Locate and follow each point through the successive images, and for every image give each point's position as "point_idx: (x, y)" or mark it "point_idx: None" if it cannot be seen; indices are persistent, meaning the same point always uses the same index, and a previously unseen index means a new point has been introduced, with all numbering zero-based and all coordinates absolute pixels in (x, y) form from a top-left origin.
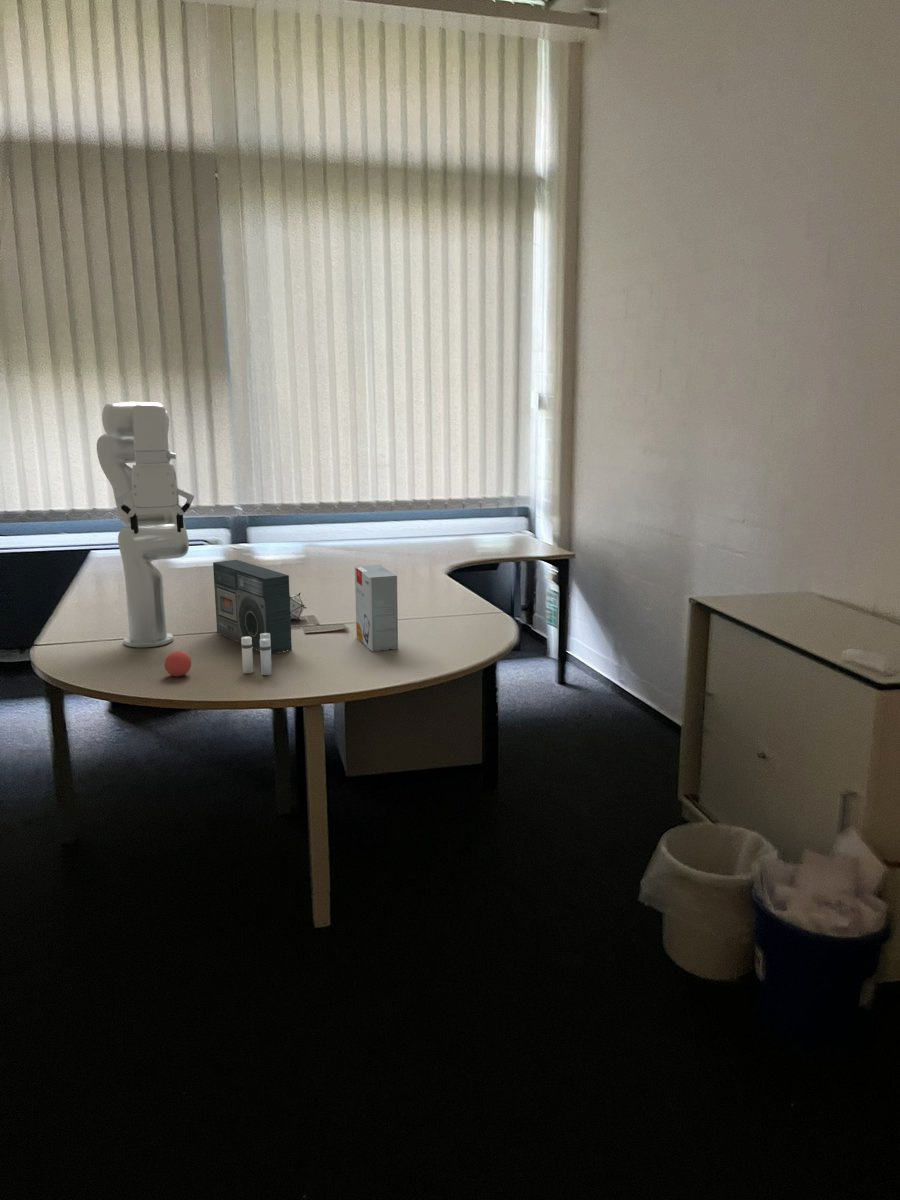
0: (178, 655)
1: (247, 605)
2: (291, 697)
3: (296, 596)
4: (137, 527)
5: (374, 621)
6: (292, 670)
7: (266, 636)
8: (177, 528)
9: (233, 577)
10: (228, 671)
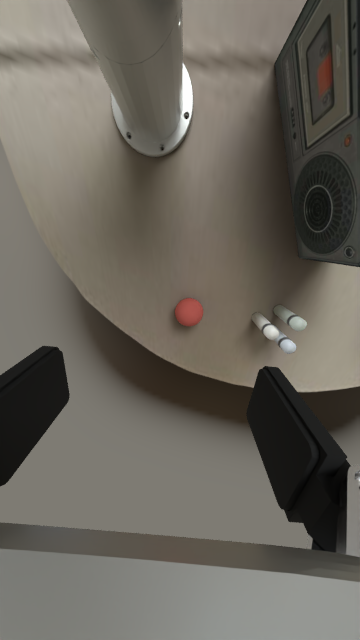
0: (190, 324)
1: (339, 189)
2: None
3: None
4: (49, 403)
5: None
6: None
7: (298, 330)
8: (252, 429)
9: None
10: (238, 308)
